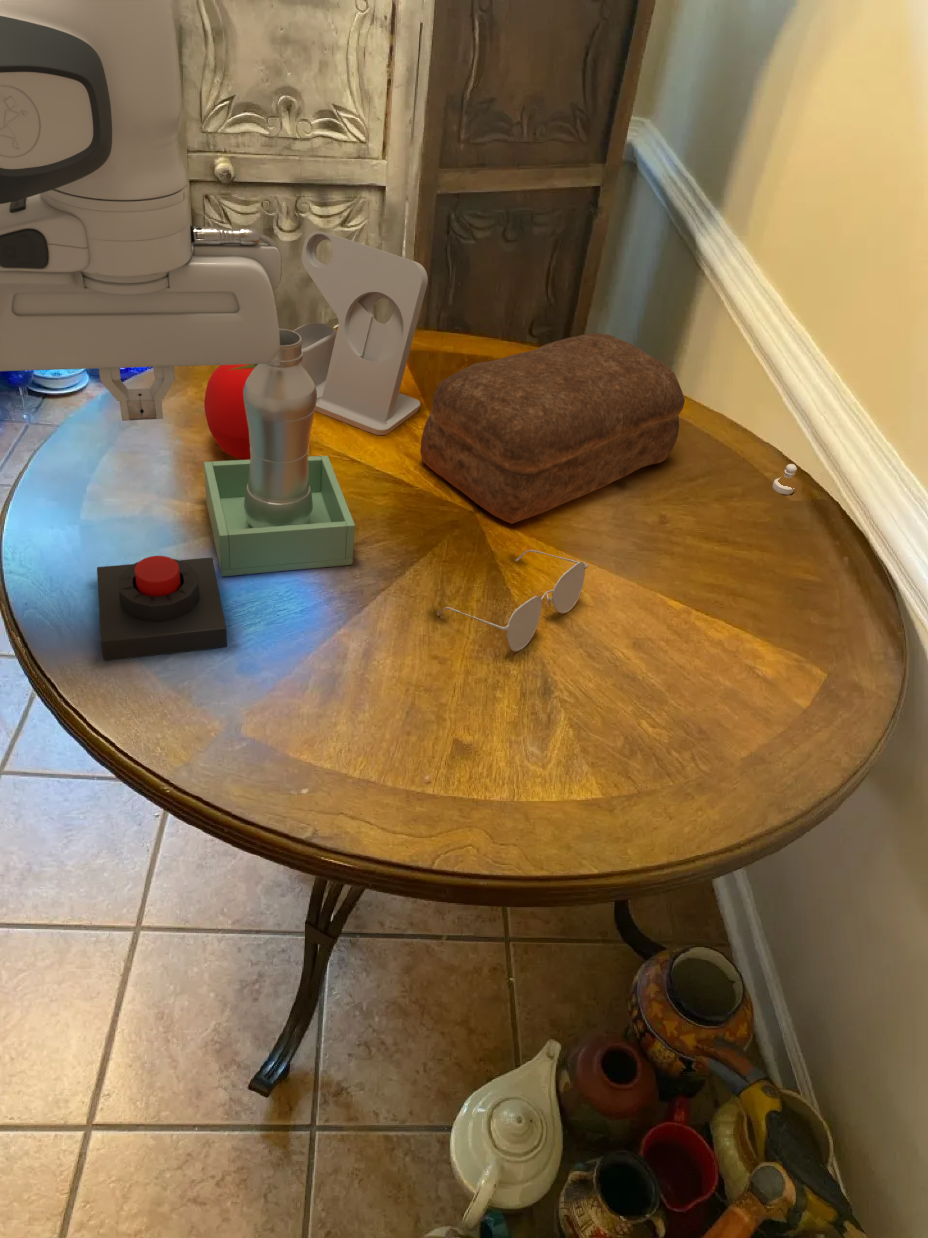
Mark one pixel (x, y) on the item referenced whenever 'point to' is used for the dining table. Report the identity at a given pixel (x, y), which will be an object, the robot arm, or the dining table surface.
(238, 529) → the tray
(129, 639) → the block
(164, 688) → the dining table surface
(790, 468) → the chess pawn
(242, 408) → the tomato
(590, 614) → the dining table surface
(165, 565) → the button
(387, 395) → the phone holder
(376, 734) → the dining table surface
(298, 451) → the metal bottle
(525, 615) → the sunglasses
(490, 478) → the bread
